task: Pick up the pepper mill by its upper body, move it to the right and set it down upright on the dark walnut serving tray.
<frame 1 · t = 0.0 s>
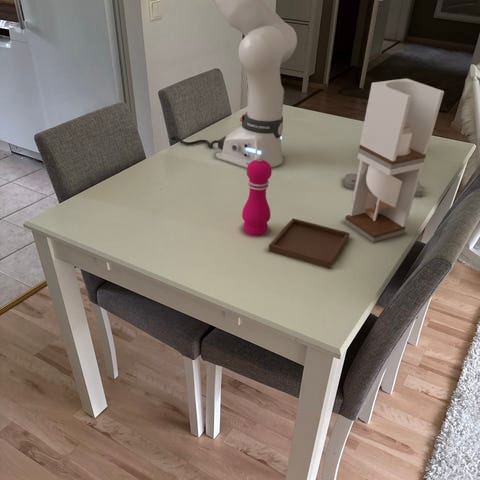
remote control: (382, 187, 150), on the table
pepper mill: (255, 230, 127), on the table
serving tray: (309, 245, 122), on the table
two-tier shelf stand: (373, 228, 130), on the table
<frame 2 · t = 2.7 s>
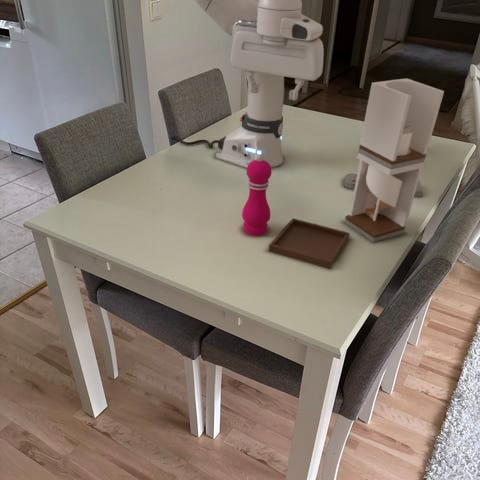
hand: (273, 96, 108), 32 cm above the table, tool pointing down, fingers open, 8 cm apart
nothing on the table moved.
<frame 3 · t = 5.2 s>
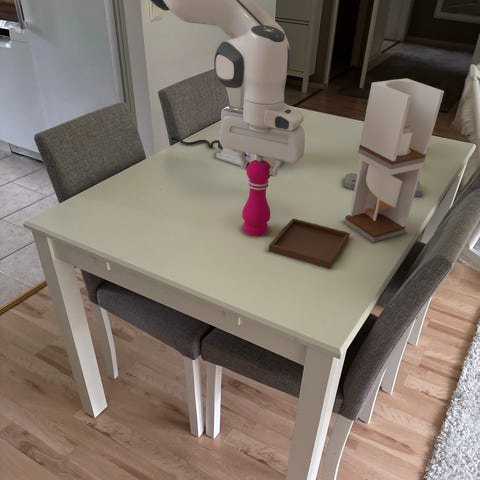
hand: (259, 172, 117), 16 cm above the table, tool pointing down, fingers closed on pepper mill, 6 cm apart
pepper mill: (255, 230, 127), on the table, touching gripper
everything else where it was.
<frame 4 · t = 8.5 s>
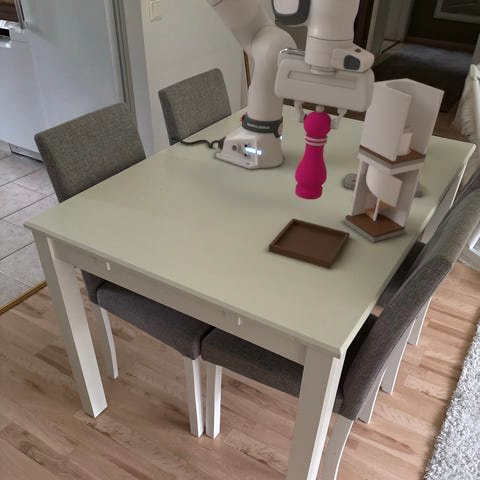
hand: (317, 125, 104), 29 cm above the table, tool pointing down, fingers closed on pepper mill, 6 cm apart
pepper mill: (308, 194, 114), point 13 cm above the table, touching gripper
everything else where it was.
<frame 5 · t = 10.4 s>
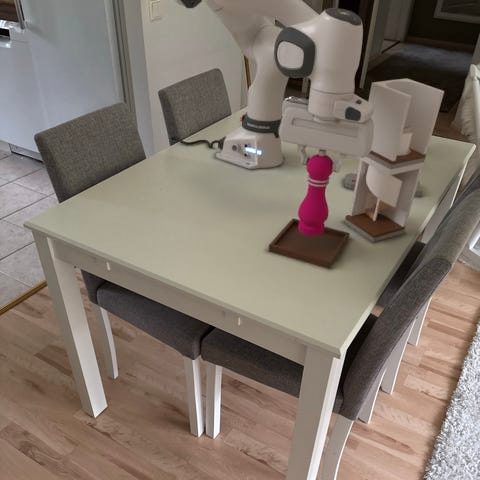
hand: (320, 167, 109), 20 cm above the table, tool pointing down, fingers closed on pepper mill, 6 cm apart
pepper mill: (310, 230, 119), point 4 cm above the table, touching gripper
everything else where it was.
when the fingers open (16 cm above the table, at t = 11.9 s): pepper mill stays where it is, resting on serving tray.
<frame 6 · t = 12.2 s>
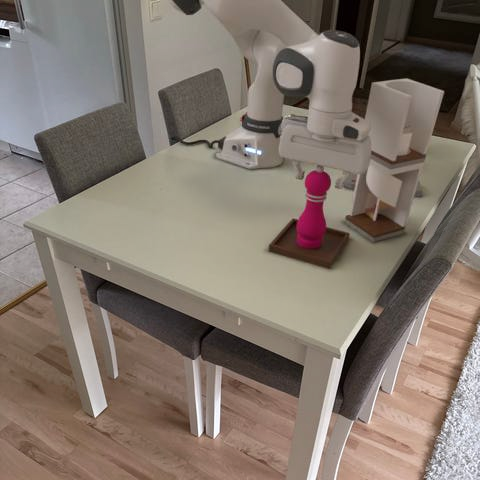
hand: (319, 183, 111), 16 cm above the table, tool pointing down, fingers open, 8 cm apart
pepper mill: (308, 243, 122), resting on serving tray
everything else where it was.
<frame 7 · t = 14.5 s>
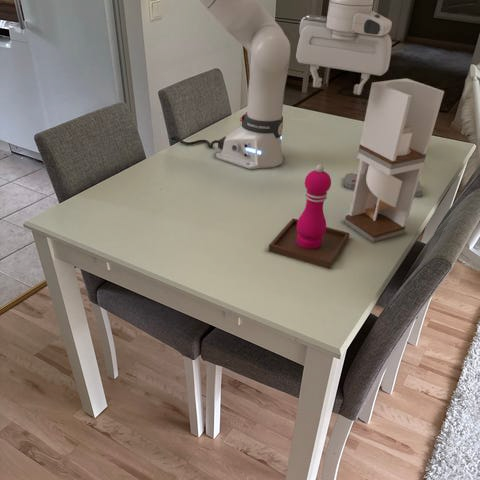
hand: (336, 90, 110), 33 cm above the table, tool pointing down, fingers open, 8 cm apart
nothing on the table moved.
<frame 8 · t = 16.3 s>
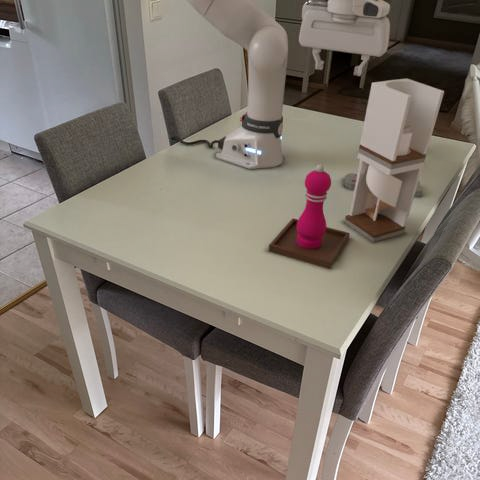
hand: (337, 72, 115), 35 cm above the table, tool pointing down, fingers open, 8 cm apart
nothing on the table moved.
at the end: pepper mill inside the target area in the serving tray (0.2 cm from its centre), point 0.4 cm above the serving tray's base; pepper mill tilted 0°; the gripper is holding nothing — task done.
